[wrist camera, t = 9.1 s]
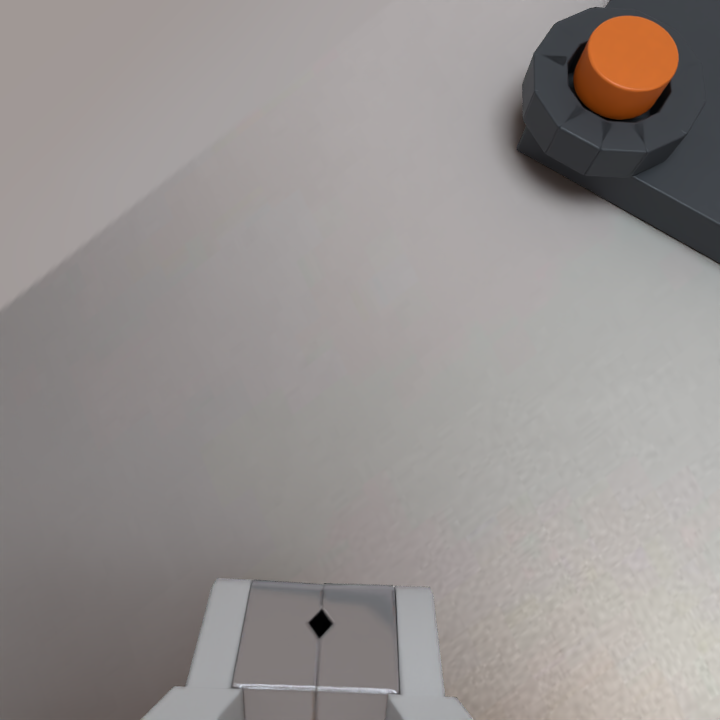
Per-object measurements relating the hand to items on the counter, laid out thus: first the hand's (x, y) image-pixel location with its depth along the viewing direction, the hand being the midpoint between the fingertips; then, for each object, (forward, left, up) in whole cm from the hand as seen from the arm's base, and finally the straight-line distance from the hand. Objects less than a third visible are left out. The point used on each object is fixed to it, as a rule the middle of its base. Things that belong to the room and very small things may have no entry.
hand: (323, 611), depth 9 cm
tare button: (-1, +19, -9) cm, 21 cm away
